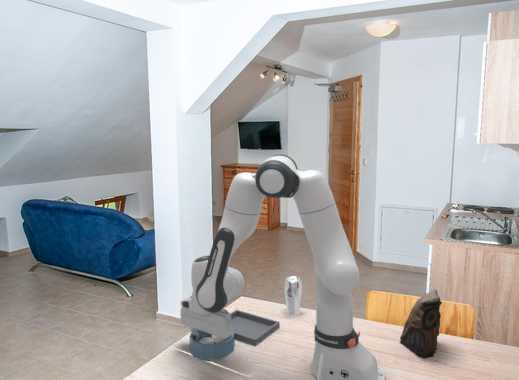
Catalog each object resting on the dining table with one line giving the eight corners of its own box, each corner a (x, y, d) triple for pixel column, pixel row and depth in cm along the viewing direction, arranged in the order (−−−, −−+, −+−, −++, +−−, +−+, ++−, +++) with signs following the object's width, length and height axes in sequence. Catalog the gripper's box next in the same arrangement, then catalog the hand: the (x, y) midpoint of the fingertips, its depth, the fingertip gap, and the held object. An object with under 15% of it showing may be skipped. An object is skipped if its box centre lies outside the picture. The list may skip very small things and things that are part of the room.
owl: (433, 339, 151) (436, 286, 148) (451, 359, 139) (455, 300, 136) (398, 341, 150) (401, 287, 147) (414, 361, 138) (417, 302, 135)
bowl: (242, 345, 148) (242, 330, 147) (215, 365, 136) (215, 349, 135) (210, 334, 156) (209, 320, 155) (181, 352, 144) (181, 337, 143)
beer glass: (304, 313, 173) (304, 277, 171) (296, 319, 167) (297, 283, 165) (289, 309, 177) (289, 274, 175) (281, 315, 171) (281, 280, 169)
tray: (279, 329, 159) (279, 321, 159) (255, 348, 146) (255, 339, 146) (236, 316, 170) (236, 309, 170) (210, 332, 157) (210, 325, 157)
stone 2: (227, 341, 149) (227, 332, 148) (219, 347, 145) (219, 338, 144) (217, 338, 151) (217, 329, 151) (209, 343, 148) (208, 334, 147)
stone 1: (216, 349, 144) (216, 339, 143) (207, 355, 140) (207, 345, 140) (206, 345, 146) (206, 336, 146) (197, 351, 143) (197, 341, 142)
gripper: (236, 307, 138) (237, 347, 140) (189, 294, 149) (190, 331, 151) (224, 314, 133) (225, 356, 135) (176, 300, 144) (178, 338, 146)
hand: (206, 342), depth 143 cm, fingers open, 8 cm apart
